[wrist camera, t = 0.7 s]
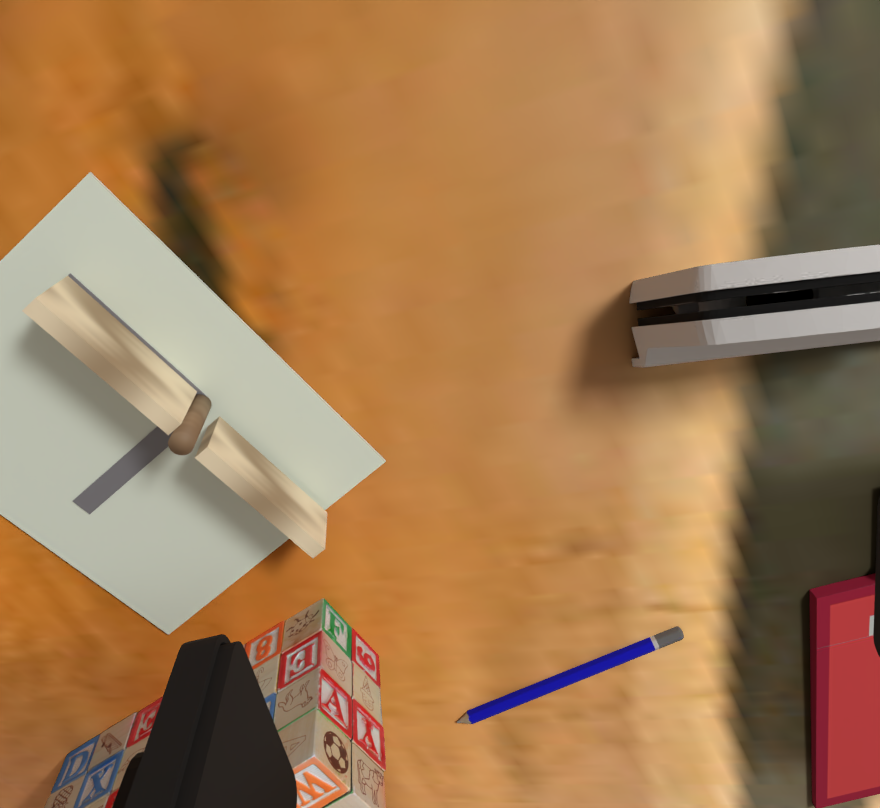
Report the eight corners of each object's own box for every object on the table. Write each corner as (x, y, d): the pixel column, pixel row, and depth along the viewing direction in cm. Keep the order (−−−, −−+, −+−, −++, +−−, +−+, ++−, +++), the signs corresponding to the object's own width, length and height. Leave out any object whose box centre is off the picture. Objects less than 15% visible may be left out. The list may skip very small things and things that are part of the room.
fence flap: (207, 426, 39) (194, 457, 36) (219, 416, 39) (207, 446, 36) (315, 521, 43) (312, 558, 39) (327, 512, 42) (325, 548, 39)
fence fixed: (55, 287, 36) (13, 317, 32) (71, 272, 36) (31, 300, 32) (201, 416, 40) (181, 459, 35) (216, 403, 40) (199, 445, 35)
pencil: (677, 621, 50) (683, 631, 49) (680, 630, 51) (686, 640, 50) (453, 712, 51) (455, 724, 51) (458, 720, 52) (460, 732, 51)
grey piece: (625, 367, 42) (701, 373, 32) (618, 284, 41) (692, 263, 31) (903, 336, 43) (1061, 332, 33) (899, 254, 42) (1057, 225, 32)
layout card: (-146, 406, 38) (-149, 408, 37) (90, 172, 34) (88, 172, 34) (169, 632, 46) (168, 635, 45) (385, 459, 42) (385, 462, 42)
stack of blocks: (132, 800, 51) (70, 1002, 40) (65, 751, 49) (-20, 951, 38) (381, 653, 48) (389, 827, 37) (324, 593, 46) (315, 759, 35)
